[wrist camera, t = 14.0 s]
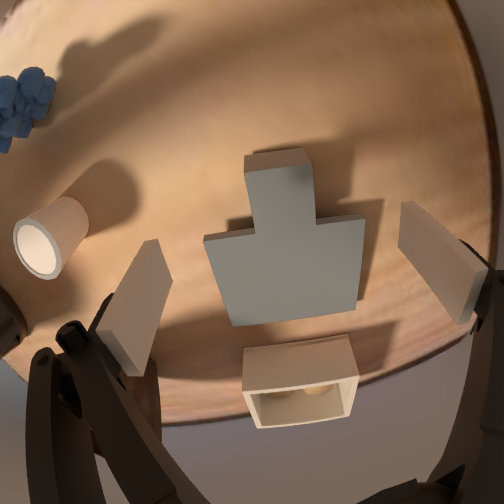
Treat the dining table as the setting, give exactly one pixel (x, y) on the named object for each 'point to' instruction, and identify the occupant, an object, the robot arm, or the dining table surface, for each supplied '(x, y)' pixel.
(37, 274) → the beige cup
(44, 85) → the grapes
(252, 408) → the tub
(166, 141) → the dining table surface
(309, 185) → the lid
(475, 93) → the dining table surface
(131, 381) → the plant pot
